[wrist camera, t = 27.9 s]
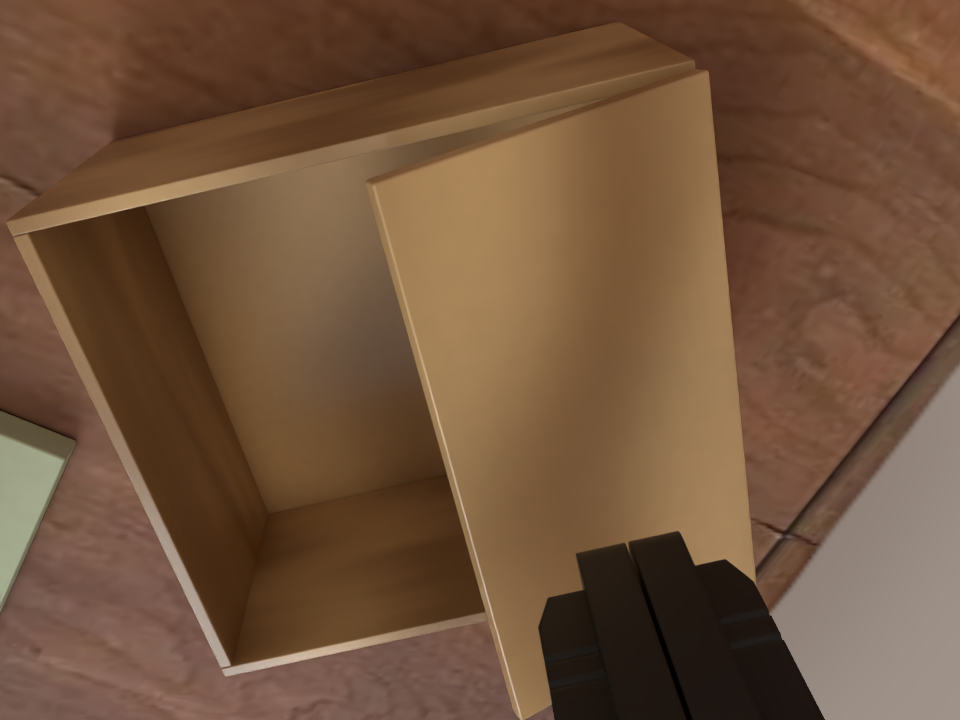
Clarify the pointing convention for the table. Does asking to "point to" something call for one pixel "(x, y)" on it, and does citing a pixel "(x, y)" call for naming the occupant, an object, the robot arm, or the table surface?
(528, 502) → the flap
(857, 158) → the table surface
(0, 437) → the pale green flat board
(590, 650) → the robot arm
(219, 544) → the wooden box
